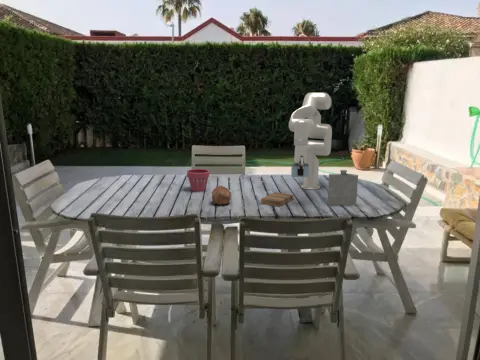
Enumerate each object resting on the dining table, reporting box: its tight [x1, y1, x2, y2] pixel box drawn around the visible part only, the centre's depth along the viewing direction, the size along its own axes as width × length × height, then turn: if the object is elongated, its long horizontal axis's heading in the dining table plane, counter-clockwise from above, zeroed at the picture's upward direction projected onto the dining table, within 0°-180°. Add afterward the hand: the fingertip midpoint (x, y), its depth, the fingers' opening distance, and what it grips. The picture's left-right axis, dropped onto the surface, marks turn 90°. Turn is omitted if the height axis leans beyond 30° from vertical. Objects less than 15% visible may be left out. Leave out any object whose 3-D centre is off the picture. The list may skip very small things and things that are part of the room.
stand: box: [260, 191, 294, 208], centre depth 237 cm, size 18×12×3 cm, turn 149°
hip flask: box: [327, 169, 359, 206], centre depth 229 cm, size 16×4×20 cm, turn 83°
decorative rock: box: [211, 185, 232, 206], centre depth 232 cm, size 13×11×10 cm
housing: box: [290, 162, 309, 178], centre depth 229 cm, size 5×9×7 cm, turn 90°
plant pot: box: [186, 168, 210, 192], centre depth 262 cm, size 14×14×13 cm
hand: (299, 174), depth 229 cm, fingers closed on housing, 5 cm apart
